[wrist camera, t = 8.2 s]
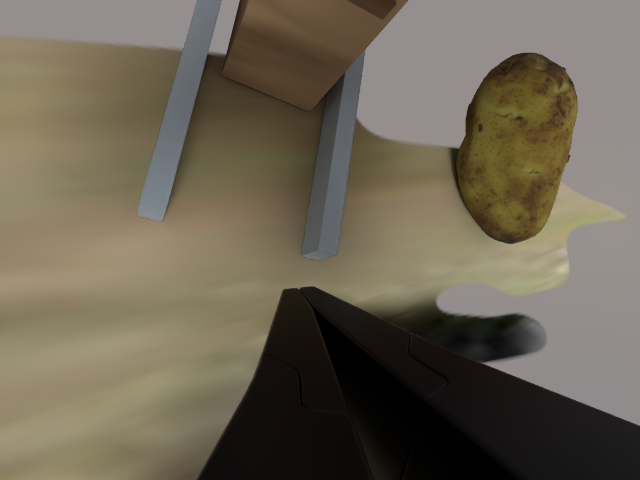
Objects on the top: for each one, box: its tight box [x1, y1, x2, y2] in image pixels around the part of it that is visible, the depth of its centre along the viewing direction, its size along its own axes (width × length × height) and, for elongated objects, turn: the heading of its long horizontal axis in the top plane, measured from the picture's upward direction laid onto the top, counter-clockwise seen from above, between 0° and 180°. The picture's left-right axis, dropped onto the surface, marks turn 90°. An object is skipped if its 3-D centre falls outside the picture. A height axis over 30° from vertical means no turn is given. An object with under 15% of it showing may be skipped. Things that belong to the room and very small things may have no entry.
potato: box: [457, 53, 578, 244], centre depth 29 cm, size 8×13×8 cm, turn 166°
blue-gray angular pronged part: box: [138, 0, 365, 260], centre depth 22 cm, size 18×11×7 cm, turn 170°
